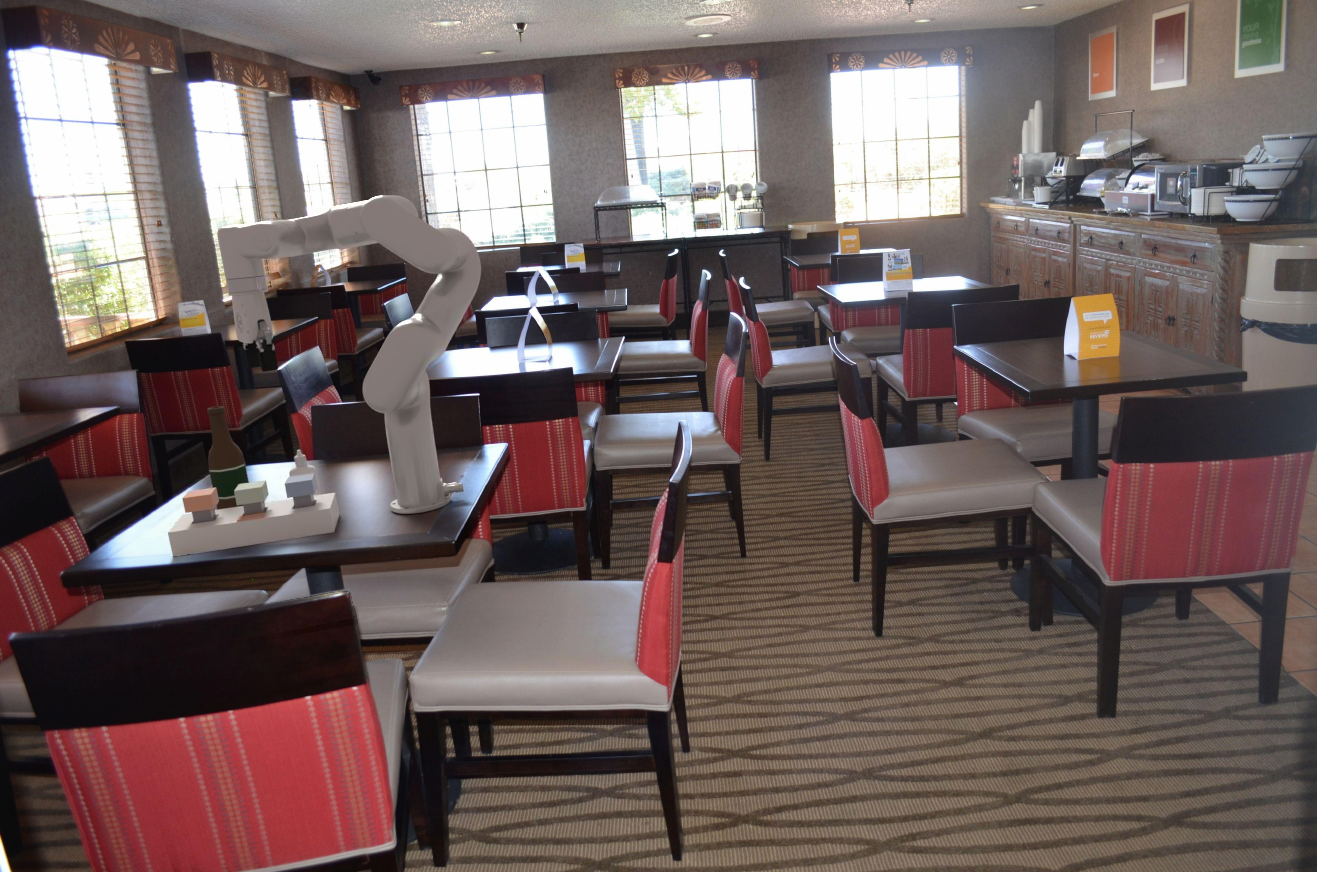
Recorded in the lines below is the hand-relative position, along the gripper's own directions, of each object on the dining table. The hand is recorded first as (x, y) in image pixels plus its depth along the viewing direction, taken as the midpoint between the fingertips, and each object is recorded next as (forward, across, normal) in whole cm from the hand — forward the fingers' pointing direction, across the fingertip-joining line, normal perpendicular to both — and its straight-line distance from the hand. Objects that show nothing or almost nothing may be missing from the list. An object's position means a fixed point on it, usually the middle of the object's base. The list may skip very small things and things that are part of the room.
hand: (262, 368), depth 199 cm
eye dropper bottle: (+32, -6, +6) cm, 33 cm away
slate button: (+29, +14, -1) cm, 33 cm away
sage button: (+29, +10, -9) cm, 32 cm away
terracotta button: (+29, +6, -18) cm, 35 cm away
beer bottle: (+32, -11, -8) cm, 35 cm away
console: (+32, +10, -9) cm, 35 cm away
